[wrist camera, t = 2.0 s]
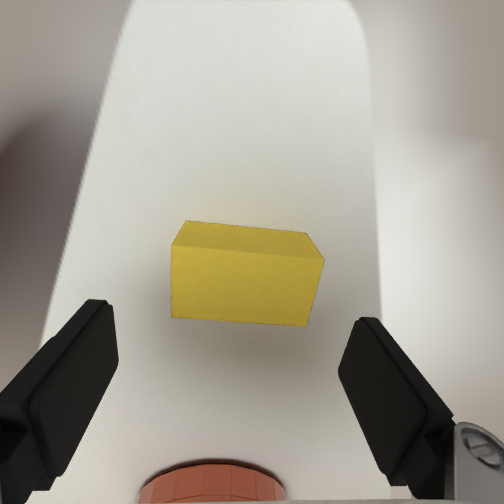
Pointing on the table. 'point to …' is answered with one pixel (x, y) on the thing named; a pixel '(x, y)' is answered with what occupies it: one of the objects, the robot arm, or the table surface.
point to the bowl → (211, 486)
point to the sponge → (243, 274)
